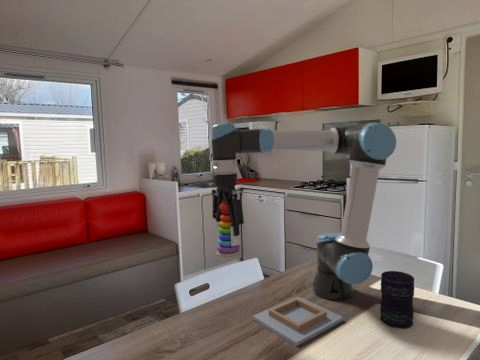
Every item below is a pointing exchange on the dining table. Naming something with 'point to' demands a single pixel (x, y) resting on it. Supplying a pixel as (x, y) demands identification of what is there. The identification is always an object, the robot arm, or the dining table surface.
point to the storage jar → (397, 299)
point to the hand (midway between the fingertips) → (228, 242)
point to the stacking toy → (226, 236)
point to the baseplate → (297, 320)
